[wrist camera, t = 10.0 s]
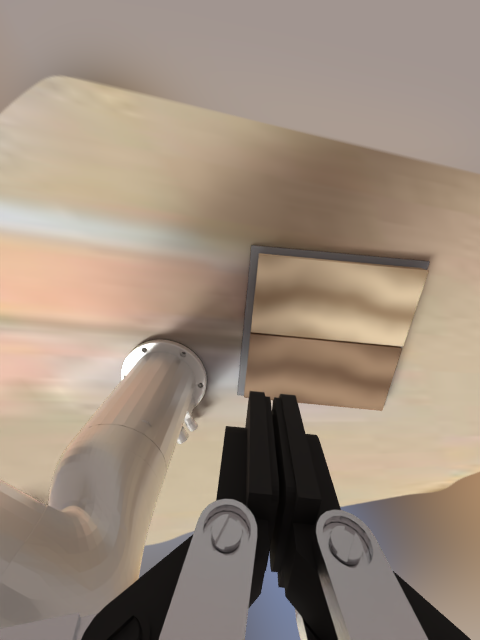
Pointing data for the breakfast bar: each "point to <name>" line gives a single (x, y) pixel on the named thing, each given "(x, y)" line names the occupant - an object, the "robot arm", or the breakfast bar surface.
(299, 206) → the breakfast bar surface
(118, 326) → the breakfast bar surface
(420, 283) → the ash plank
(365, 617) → the robot arm
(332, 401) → the walnut board
